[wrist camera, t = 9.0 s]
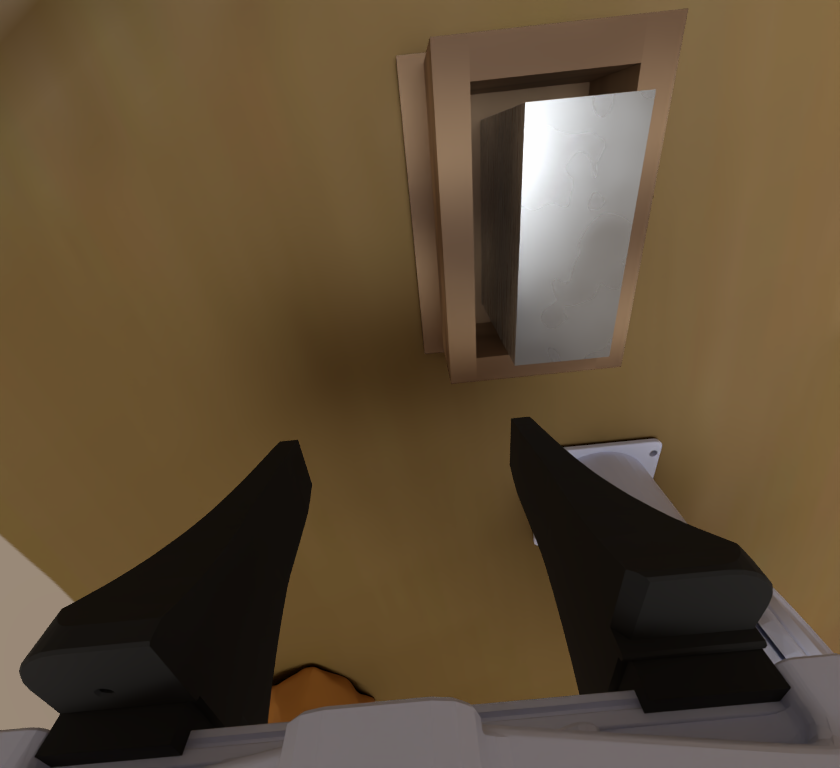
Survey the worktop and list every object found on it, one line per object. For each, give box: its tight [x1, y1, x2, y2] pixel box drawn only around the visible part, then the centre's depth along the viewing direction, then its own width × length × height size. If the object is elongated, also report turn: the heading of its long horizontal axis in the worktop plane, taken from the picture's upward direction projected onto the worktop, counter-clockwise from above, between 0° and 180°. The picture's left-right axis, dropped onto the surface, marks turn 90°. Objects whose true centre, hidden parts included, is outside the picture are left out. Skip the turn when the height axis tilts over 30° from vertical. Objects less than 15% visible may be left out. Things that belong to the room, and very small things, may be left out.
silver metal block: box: [480, 89, 656, 366], centre depth 16 cm, size 8×4×7 cm, turn 5°
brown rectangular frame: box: [396, 8, 688, 384], centre depth 17 cm, size 13×10×4 cm
